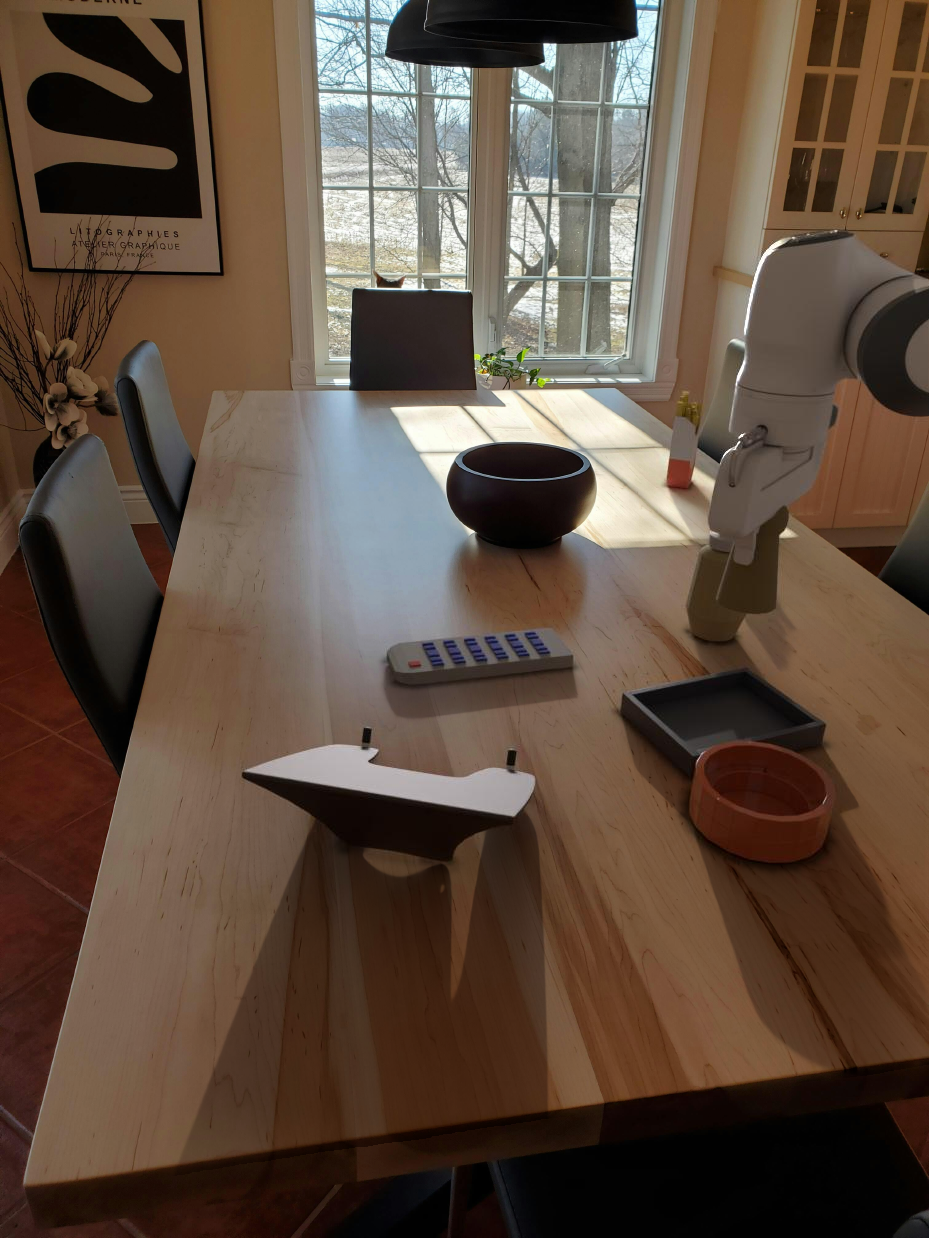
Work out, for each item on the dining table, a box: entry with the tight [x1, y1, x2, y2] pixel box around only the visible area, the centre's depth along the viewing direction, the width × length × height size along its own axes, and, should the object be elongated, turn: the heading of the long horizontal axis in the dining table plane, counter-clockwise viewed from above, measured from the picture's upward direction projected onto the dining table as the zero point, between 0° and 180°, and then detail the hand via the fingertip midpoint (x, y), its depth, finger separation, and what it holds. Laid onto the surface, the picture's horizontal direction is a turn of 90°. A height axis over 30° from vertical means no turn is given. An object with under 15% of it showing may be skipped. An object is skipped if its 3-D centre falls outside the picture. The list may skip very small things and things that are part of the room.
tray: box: [619, 667, 827, 778], centre depth 101 cm, size 18×14×3 cm
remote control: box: [386, 627, 574, 686], centre depth 114 cm, size 8×23×2 cm, turn 106°
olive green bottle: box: [716, 506, 790, 615], centre depth 91 cm, size 6×6×11 cm
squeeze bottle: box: [685, 530, 747, 642], centre depth 119 cm, size 8×8×18 cm
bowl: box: [688, 741, 837, 864], centre depth 86 cm, size 13×13×5 cm
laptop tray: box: [241, 726, 536, 863], centre depth 83 cm, size 23×23×9 cm
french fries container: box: [666, 390, 703, 490], centre depth 181 cm, size 5×11×18 cm, turn 160°
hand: (754, 553), depth 91 cm, fingers closed on olive green bottle, 4 cm apart
